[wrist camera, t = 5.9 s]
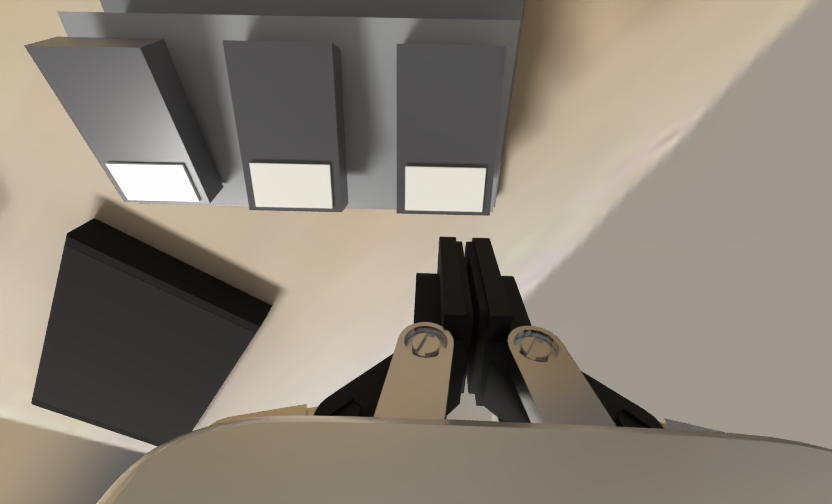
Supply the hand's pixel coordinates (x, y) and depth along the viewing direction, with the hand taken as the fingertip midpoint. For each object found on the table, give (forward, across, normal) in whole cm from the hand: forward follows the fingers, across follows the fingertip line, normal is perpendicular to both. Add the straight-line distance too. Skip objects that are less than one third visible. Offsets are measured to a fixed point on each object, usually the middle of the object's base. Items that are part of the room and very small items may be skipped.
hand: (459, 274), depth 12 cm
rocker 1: (+6, +14, -3) cm, 16 cm away
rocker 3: (+6, 0, -3) cm, 7 cm away
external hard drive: (+14, +27, +18) cm, 35 cm away
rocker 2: (+6, +7, -3) cm, 10 cm away
